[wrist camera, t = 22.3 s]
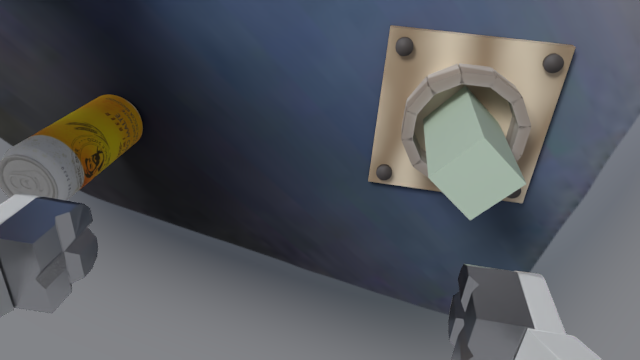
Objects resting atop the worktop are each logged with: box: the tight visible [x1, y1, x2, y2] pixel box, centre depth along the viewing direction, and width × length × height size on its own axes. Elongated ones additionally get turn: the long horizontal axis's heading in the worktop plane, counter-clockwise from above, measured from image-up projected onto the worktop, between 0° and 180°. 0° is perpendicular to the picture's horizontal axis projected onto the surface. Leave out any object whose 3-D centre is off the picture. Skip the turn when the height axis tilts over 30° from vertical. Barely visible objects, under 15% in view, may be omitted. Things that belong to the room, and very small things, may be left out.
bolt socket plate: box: [368, 25, 576, 203], centre depth 45 cm, size 16×16×4 cm
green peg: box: [423, 85, 526, 220], centre depth 40 cm, size 5×5×12 cm
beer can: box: [0, 94, 143, 201], centre depth 46 cm, size 6×6×15 cm
